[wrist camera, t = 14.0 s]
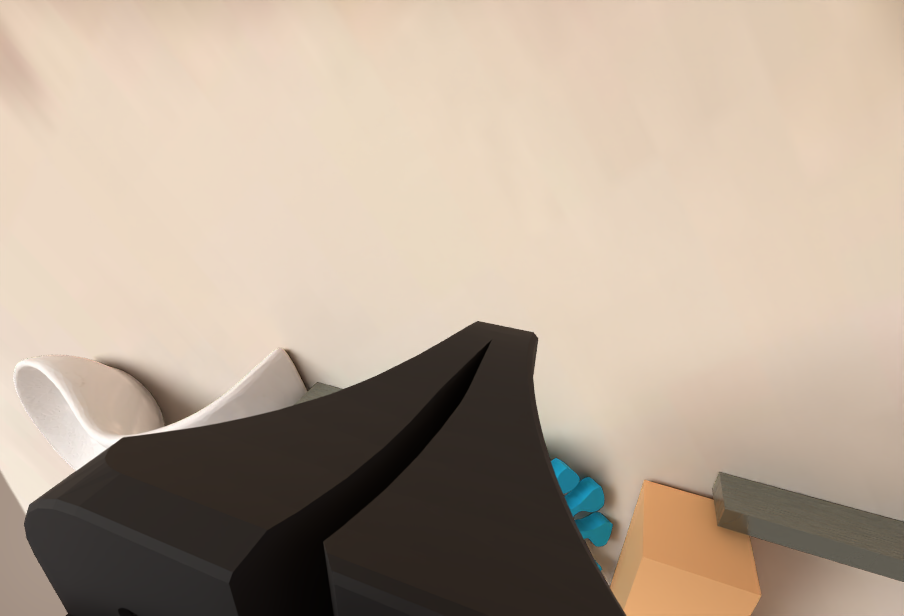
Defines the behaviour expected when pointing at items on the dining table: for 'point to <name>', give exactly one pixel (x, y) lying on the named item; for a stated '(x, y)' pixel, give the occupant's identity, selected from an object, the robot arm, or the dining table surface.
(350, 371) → the dining table surface
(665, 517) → the press ram
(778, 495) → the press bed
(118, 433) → the spoon rest
